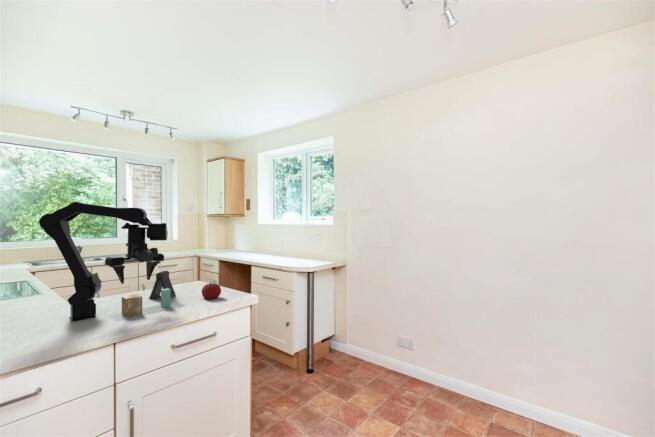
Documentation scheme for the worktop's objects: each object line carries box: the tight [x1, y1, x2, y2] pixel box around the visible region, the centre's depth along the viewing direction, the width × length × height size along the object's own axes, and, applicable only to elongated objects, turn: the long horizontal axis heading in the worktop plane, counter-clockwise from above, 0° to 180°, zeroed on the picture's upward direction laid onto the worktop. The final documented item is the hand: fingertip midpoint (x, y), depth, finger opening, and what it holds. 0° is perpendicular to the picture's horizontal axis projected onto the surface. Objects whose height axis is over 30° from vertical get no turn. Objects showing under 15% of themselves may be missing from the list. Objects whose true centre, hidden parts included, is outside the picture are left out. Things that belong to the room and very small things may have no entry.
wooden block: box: [121, 293, 143, 317], centre depth 114 cm, size 5×5×7 cm
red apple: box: [201, 282, 222, 301], centre depth 137 cm, size 8×8×7 cm
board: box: [109, 301, 187, 322], centre depth 119 cm, size 24×10×1 cm, turn 139°
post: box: [160, 288, 171, 308], centre depth 123 cm, size 3×3×7 cm
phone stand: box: [148, 270, 176, 300], centre depth 137 cm, size 9×6×12 cm, turn 92°
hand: (135, 281), depth 116 cm, fingers open, 9 cm apart
